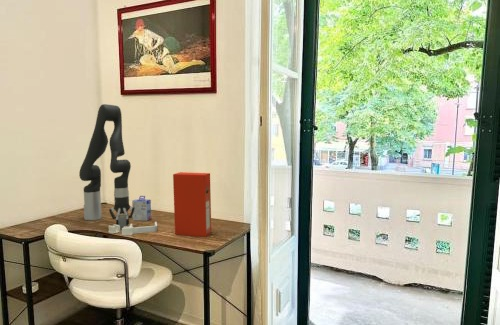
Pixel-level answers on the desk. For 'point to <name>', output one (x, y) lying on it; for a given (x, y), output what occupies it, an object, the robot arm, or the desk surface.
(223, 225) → the desk surface
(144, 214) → the ink cartridge box
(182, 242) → the desk surface
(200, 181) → the file binder
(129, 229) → the clip
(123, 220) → the connector
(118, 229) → the clip
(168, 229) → the desk surface
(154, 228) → the bracket
